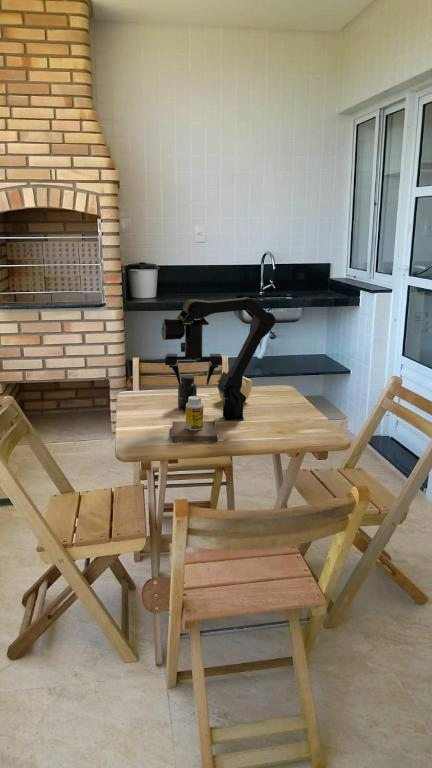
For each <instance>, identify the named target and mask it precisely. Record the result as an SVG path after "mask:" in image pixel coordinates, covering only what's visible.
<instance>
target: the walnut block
mask: <svg viewBox="0 0 432 768" xmlns="http://www.w3.org/2000/svg"><path fill="white" fill-rule="evenodd" d="M171 425H172V428H171V429H172V430H171V443H218V431H217V430H218V429H217V424H216V420H215V421H213V420H211V421H209V420H208V421H207V420H206V421H204V420H203V428H202V429H201V430H197V431H192V430H188V429H187V428H186V420H185V421H172V424H171Z"/></svg>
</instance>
